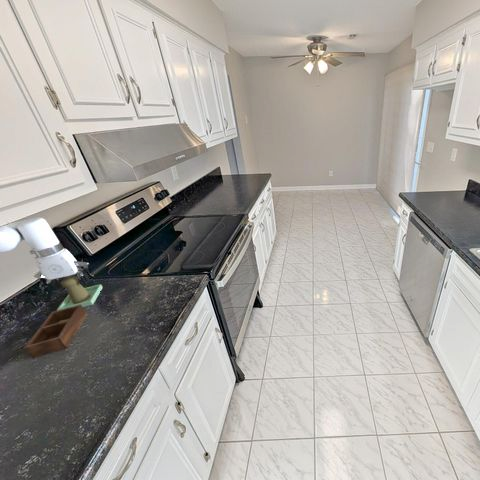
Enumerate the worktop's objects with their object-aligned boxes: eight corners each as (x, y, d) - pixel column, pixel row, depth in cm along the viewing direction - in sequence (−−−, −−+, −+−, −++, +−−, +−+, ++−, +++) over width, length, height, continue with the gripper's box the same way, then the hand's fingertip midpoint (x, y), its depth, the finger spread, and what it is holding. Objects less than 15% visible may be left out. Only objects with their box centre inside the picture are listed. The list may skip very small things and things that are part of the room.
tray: (59, 313, 101) (56, 309, 100) (72, 294, 111) (70, 291, 110) (92, 304, 104) (90, 301, 103) (102, 287, 114) (100, 284, 113)
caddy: (33, 358, 82) (23, 348, 80) (58, 321, 97) (51, 311, 94) (67, 348, 85) (59, 338, 83) (87, 313, 99) (81, 304, 97)
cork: (89, 299, 107) (76, 278, 101) (71, 306, 104) (56, 284, 98) (91, 292, 111) (78, 271, 106) (73, 298, 108) (59, 277, 103)
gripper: (13, 260, 90) (41, 297, 98) (72, 249, 95) (94, 284, 103) (26, 251, 96) (51, 286, 105) (80, 240, 102) (101, 275, 110)
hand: (73, 285), depth 104 cm, fingers open, 9 cm apart
